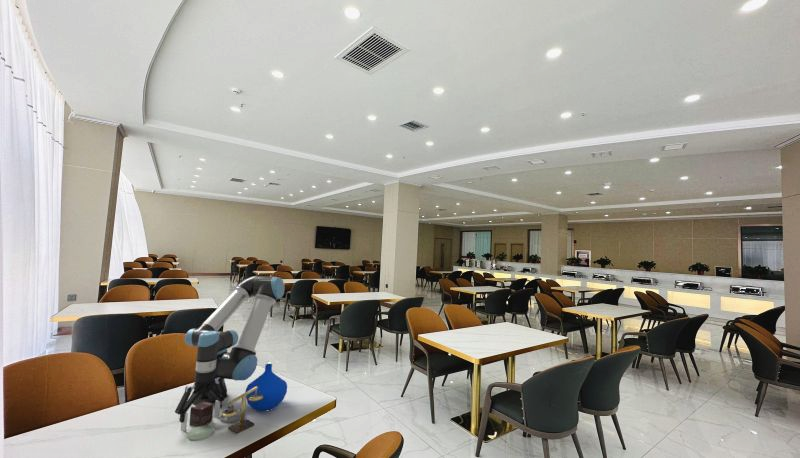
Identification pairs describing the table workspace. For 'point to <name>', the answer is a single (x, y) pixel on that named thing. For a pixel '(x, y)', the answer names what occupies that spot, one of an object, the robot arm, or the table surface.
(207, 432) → the mint green rounded dome
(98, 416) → the table surface
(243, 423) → the balance
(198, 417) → the box
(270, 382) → the vase
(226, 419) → the grey plastic dome
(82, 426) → the table surface
